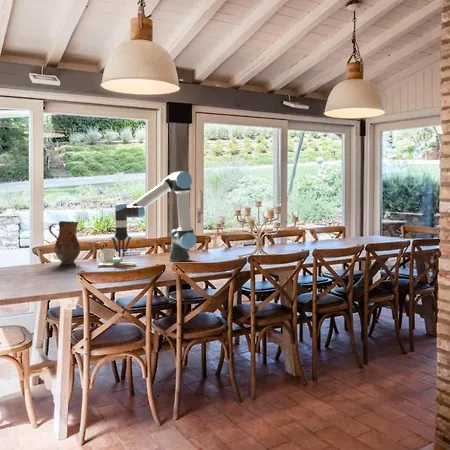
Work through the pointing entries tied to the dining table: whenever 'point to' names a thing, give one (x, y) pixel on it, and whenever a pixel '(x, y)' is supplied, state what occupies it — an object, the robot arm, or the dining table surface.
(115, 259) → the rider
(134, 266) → the wooden flat board
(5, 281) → the dining table surface
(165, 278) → the dining table surface
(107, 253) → the mug
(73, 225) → the pitcher
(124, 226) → the robot arm
